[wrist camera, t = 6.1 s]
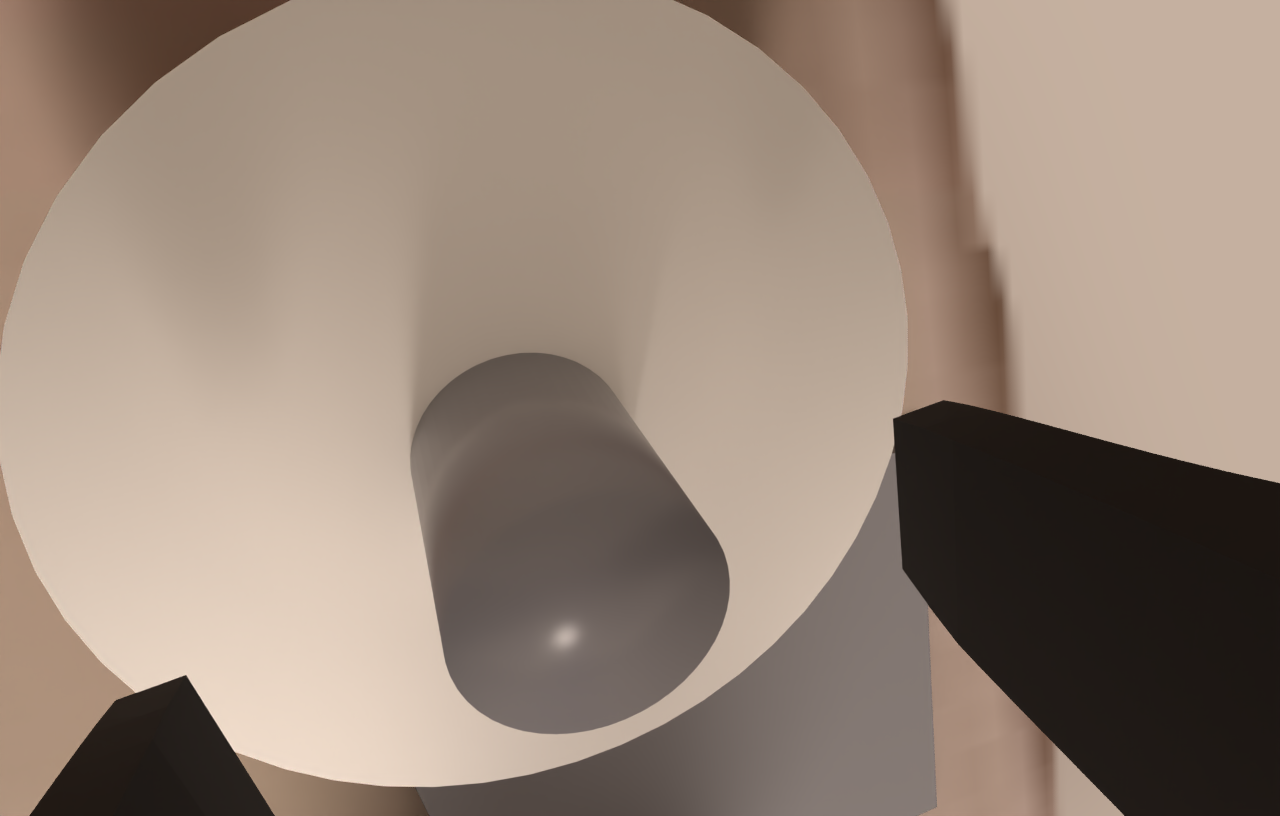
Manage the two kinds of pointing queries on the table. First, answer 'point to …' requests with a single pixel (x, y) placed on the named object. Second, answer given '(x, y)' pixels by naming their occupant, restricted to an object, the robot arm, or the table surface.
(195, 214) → the lid
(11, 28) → the table surface
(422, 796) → the mat
